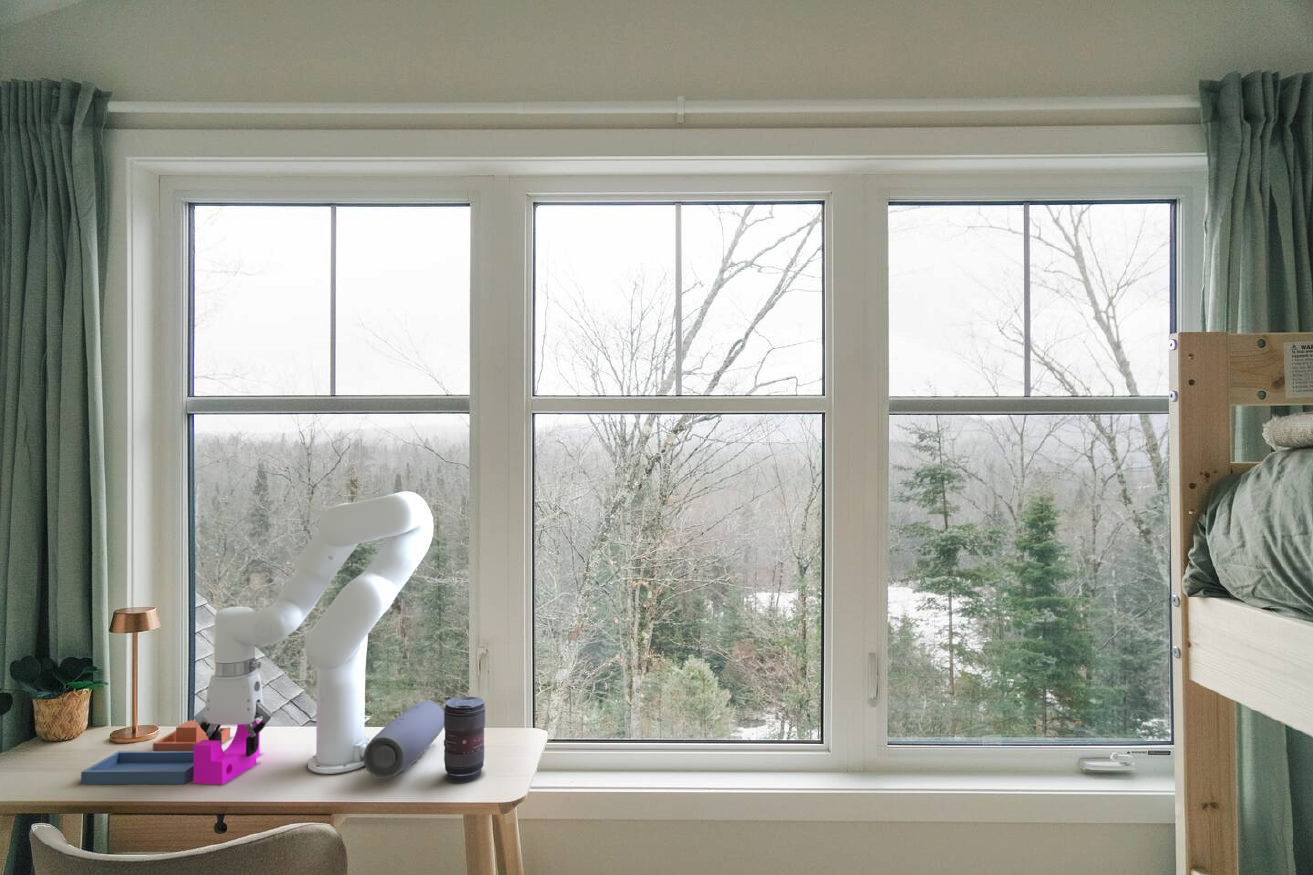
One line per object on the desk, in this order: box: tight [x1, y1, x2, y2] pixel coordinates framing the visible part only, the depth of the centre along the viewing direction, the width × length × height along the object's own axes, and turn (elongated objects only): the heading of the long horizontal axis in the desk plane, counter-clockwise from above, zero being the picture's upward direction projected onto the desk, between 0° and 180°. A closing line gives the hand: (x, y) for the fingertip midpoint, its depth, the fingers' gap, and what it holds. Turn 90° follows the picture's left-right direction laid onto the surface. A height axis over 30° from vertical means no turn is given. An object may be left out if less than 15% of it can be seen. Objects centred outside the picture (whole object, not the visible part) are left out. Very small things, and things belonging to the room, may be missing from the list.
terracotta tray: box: [152, 727, 231, 751], centre depth 173 cm, size 12×10×2 cm
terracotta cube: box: [175, 720, 208, 742], centre depth 173 cm, size 4×4×4 cm
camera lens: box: [443, 696, 486, 784], centre depth 157 cm, size 8×8×15 cm
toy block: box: [193, 719, 261, 786], centre depth 160 cm, size 15×6×8 cm, turn 172°
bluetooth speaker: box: [364, 700, 444, 779], centre depth 164 cm, size 23×9×10 cm, turn 175°
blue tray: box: [80, 750, 194, 785], centre depth 158 cm, size 21×11×2 cm, turn 90°
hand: (233, 753), depth 160 cm, fingers closed on toy block, 6 cm apart
